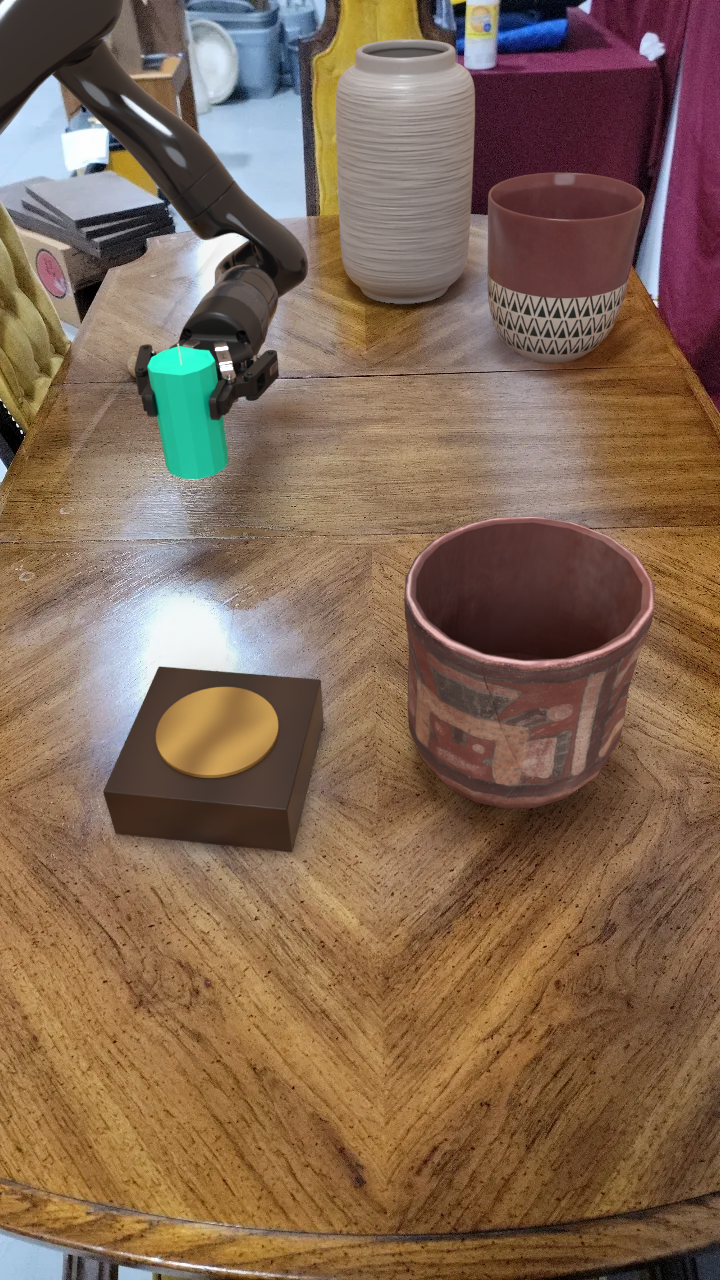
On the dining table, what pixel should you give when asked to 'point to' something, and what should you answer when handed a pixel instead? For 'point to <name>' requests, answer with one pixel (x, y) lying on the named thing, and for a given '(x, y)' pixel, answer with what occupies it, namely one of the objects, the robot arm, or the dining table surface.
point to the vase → (405, 169)
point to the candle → (188, 412)
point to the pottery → (522, 656)
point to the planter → (559, 261)
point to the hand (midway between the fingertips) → (181, 408)
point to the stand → (218, 759)
